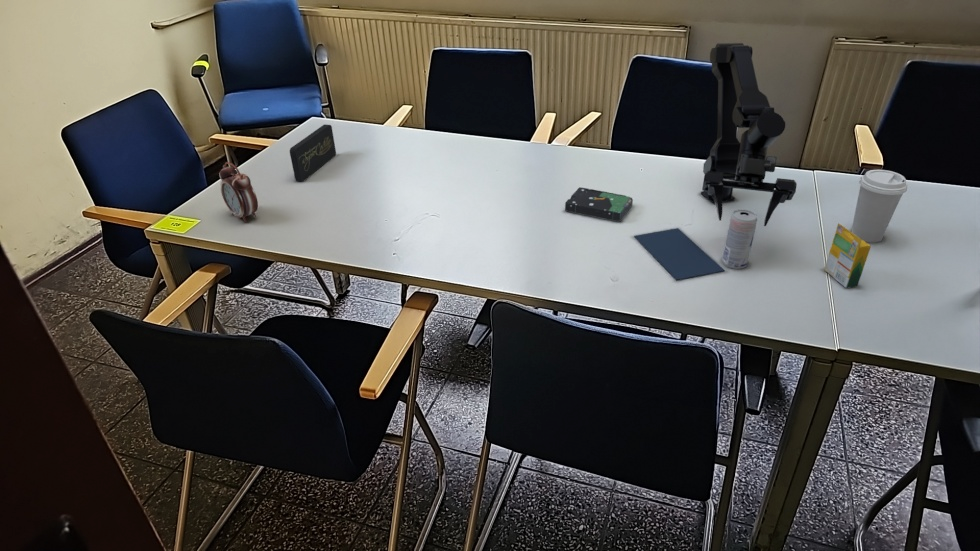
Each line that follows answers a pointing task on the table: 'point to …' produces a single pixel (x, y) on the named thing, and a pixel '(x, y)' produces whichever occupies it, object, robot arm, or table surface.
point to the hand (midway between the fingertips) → (742, 222)
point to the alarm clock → (238, 192)
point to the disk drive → (599, 204)
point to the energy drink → (739, 239)
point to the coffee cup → (877, 203)
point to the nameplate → (312, 152)
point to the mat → (678, 254)
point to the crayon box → (847, 257)
